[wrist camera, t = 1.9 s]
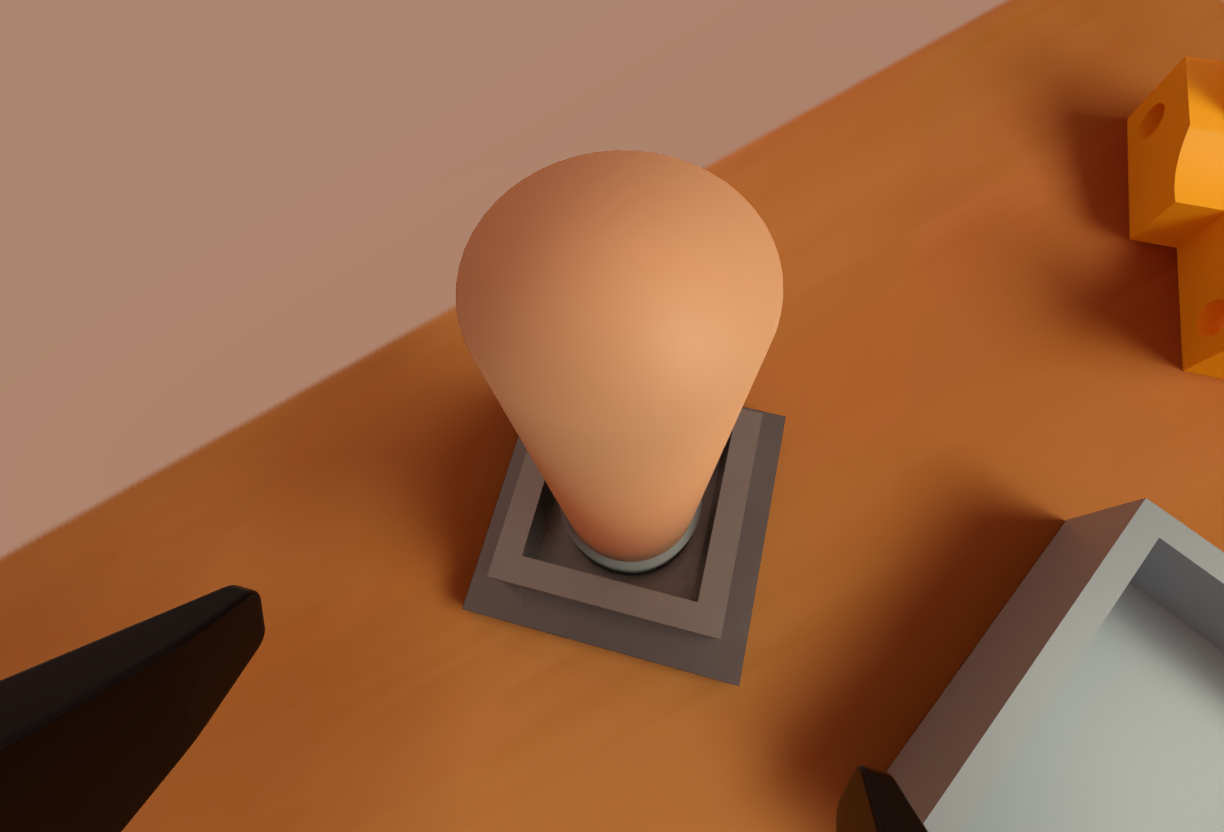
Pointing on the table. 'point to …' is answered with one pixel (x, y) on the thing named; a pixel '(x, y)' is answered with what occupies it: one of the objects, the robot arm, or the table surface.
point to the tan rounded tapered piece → (622, 338)
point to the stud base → (641, 604)
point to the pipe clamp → (1185, 198)
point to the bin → (1087, 692)
